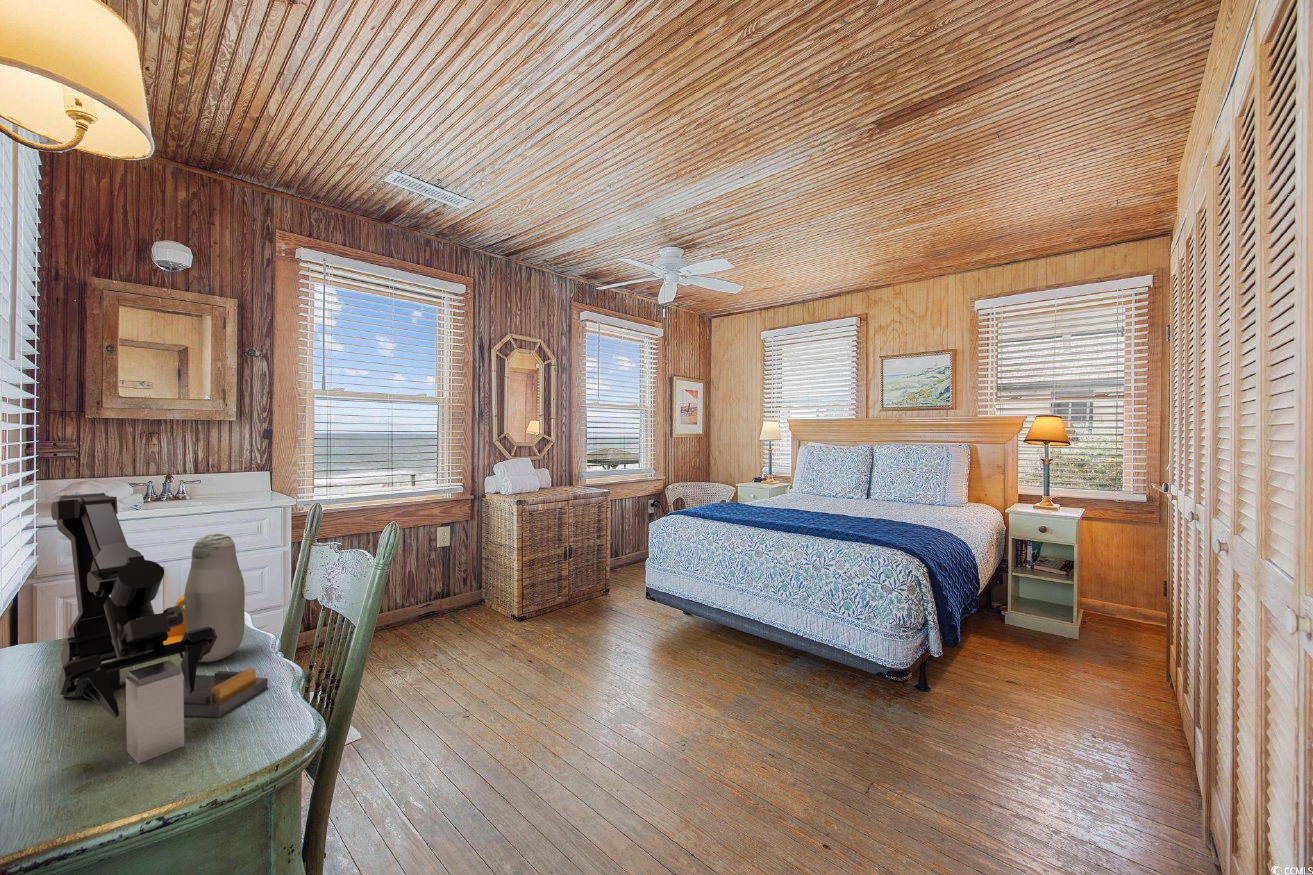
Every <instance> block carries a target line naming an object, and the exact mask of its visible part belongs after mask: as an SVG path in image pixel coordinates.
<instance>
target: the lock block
mask: <svg viewBox="0 0 1313 875" xmlns="http://www.w3.org/2000/svg"><path fill="white" fill-rule="evenodd" d="M183 679H184V676H183V672H182V670H181V666H179V665H178V664H176V663H174V662H173V661H171V660H170V659H169V660H165V661H161V662H158V663H154V664H151V665H148V666H144V667H140V668H137V669H132V670H129V671H128V677H125V682H126V685H125V705H126V706H125V712H126V714H125V715H126V716H125V719H126V722H125V723H126V752H127V753H128V755H130V757H132V759H133V760H134V761H135V762H136V763H137V764H141V763H143V762H147V761H149V760H151V759H154V758H156V757H159V756H161V755H164V754H166V753H170V752H171V751H174V750H177V749H179V748H182V747H184V746H185V716H184V691H183Z"/></svg>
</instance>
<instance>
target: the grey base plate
mask: <svg viewBox="0 0 1313 875" xmlns="http://www.w3.org/2000/svg"><path fill="white" fill-rule="evenodd" d="M256 672H257V671H256V668H246V669H245V670H243V671H229V670H218V671H216V672H215V673H214V675H209V674H208V675H207V674H203V675H202V674H196V678H195V686H194V691H193V692H192V693H189V691H188V689H187V687H186V683H185V679H184V678H183V691H184V717H185V716H186V717H200V718H201V717H202V718H221V717H222V716H224V715H226V714H227V713H229V712H230V711H232V710H234V709H236V708H237V707H240V705H241V706H242V704H243V703H246V702H247V701H249V700H250V699H252V698H253V697H256V696H257V695H258V694H260V693H261V692H264V691H265V690H266V689H268V678H267V677H256V675H257V673H256Z"/></svg>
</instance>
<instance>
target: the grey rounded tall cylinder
mask: <svg viewBox="0 0 1313 875" xmlns="http://www.w3.org/2000/svg"><path fill="white" fill-rule="evenodd" d="M190 562H191V563H190V568H189V572H188V576H187V581H186V584H185V588H184V594H183V595H184V606H183V608H184V609H185V632H188V631H192V630H196V629H200V628H204V627H208V626H209V627H211V628H213V629H214V630H215V632H216V635H217V639H216V641H215V643H214V645H213V647H212V649H211V651H210V653H208V654H206V655H204V657H203V659H202V660H200V661H199V662H203V663H212V662H218V661H220V660H223V659H225V658H227V657H229V656H231V655H233V653H235V652H236V651H237V650H238V648H239V647H240V645H241V644H242V642H243V640H244V635H245V604H246V602H245V600H246V597H245V594H246V593H245V590H246V589H245V588H246V587H245V582H244V581H245V580H244V577H243V573H242V571H241V569H240V566H239V565H240V564H239V562H238V557H237V552H236V543H235V542H234V540H233V539H232V538H231V536H229V535H227V534H224V533H223V534H222V533H214V534H207V535H205V536H203V537H200V538H199V539H198V540H197V541H196V542H195V543H194V545H193V547H192V550H191V561H190Z"/></svg>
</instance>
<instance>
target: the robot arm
mask: <svg viewBox="0 0 1313 875" xmlns="http://www.w3.org/2000/svg"><path fill="white" fill-rule="evenodd" d="M118 511H119V510H118V497H117V496H109V495H106V494H105V492H99V493H98V492H97V493H84V494H83V493H82V494H71V495H60V498H59V501H53V502H52V503H51V506H50V513H51V519H52V520H53V521H56V526H57V530H58V531H59V532H60V533H61V534H62V535H64V536H65V537H66V538H67V539H68V540H69V541H70V545H71V554H72V565H73V574H74V582H75V595H76V602H77V604H76V605H77V611H78V612H77V613H78V614H77V615H76V618H75V619H74V620H73V622H72V624H71V625H70V627H68V631H67V636H68V637H67V638H65V640H64V642H63V646H62V649H61V653H60V661H61V666H62V667H61V670H60V674H59V677H58V681H57V683H58V684H57V685H58V690H59V694H60V696H62V699H65V700H67V699H68V700H70V699H71V700H85V701H86V700H87V701H93V702H94V703H95V704H97V705H99V707H101V708H102V709H103V710H104V711H106V712H107V713H108V714H109V715H110V716H112V718H118V717H119V715H120V710H119V705H118V702H117V700H116V697H115V695H114V691H116V690H118V689H120V688H123V687H124V686H125V687H126V681H122V680H121V670H122V669H123V670H124V669H126V668H130V667H133V666H137V665H141V664H145V663H149V662H151V661H156V660H159V659H163V658H167V657H171V656H174V655H179V657H180V659H182V661H181V662H180V669H181V672H182V673H183V679H185V683H186V687H187V689H188V691H189V693H192V692H193V691H194V686H195V678H196V675H197V669H198V663H199V662H201V661H200V660H202V659H203V657H204V655H206V654H208V653H210V651H211V649H212V647H213V645H214V643H215V641H216V639H217V635H216V632H215V630H214V629H213V628H211V627H209V626H208V627H204V628H200V629H196V630H192V631H188V632H185V634H184V636H183V638H182V640H181V641H179V642H175V643H172V644H168V645H164V643H163V641H166V640H167V639H168V634H167V632H170V631H171V627H175V626H179V625H180V624H182V623H183V614H182V611H181V608H180V606H175V605H174V606H170V607H166V608H165V609H164V610H163V612H160V613H155V612H154V608H153V605H152V602H151V601H153V600H155V599H156V596H157V594H158V591H159V589H160V586H161V584H162V581H163V578H164V576H165V568H164V567H163V566H162V565H160V564H159V563H157V562H156V561H152V560H148V559H145V556H144V555H142V553H141V552H140V551H139V550H137V549H134V548H132V547H130V546H129V545H128V543H127V540H126V538H125V535H124V532H123V529H122V527H121V523H120V521H119V518H118V516H117V515H118V514H119V512H118ZM178 653H179V654H178Z"/></svg>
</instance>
